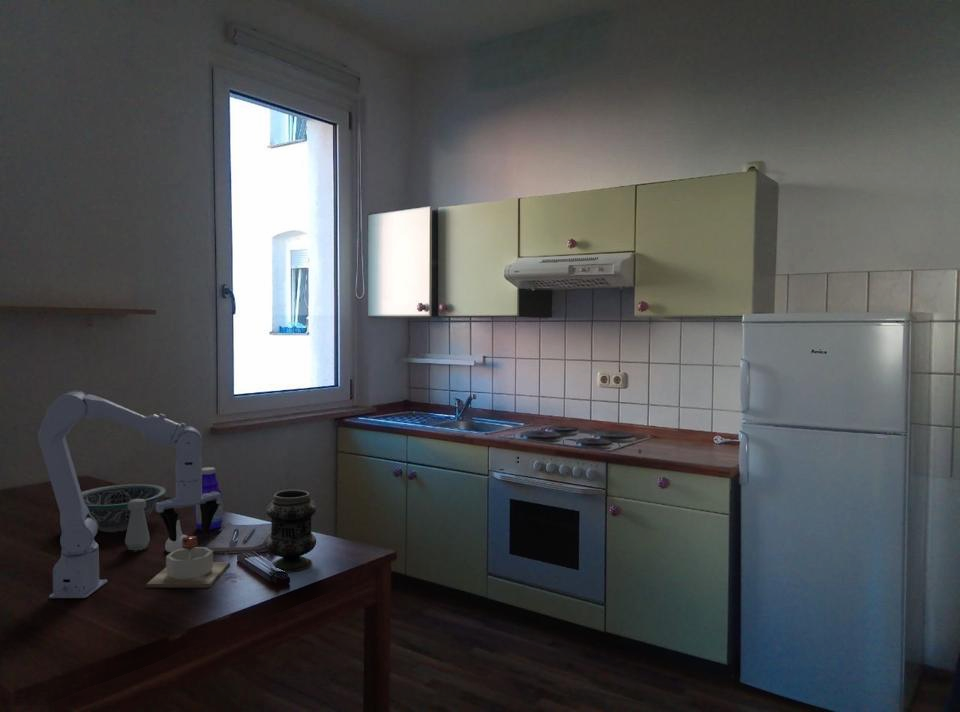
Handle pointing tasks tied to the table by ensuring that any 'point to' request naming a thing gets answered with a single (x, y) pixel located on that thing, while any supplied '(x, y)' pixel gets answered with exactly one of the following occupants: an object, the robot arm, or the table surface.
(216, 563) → the board
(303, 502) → the apothecary jar
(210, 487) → the bottle
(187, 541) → the plunger
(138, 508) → the salt shaker
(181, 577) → the press carafe
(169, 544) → the garlic bulb
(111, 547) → the table surface
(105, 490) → the bowl
